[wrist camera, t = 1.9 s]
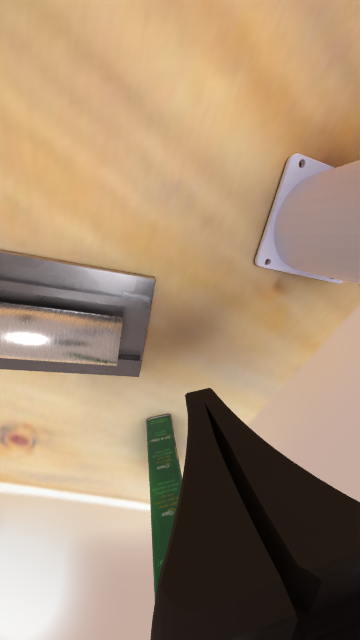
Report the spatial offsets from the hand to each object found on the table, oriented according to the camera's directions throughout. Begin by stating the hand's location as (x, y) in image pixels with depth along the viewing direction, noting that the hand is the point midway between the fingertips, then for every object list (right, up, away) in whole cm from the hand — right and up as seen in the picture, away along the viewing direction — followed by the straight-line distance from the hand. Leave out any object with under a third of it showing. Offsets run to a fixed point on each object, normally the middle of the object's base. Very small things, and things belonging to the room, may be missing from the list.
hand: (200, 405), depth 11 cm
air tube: (-12, +4, +4) cm, 14 cm away
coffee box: (-3, -10, +14) cm, 17 cm away
